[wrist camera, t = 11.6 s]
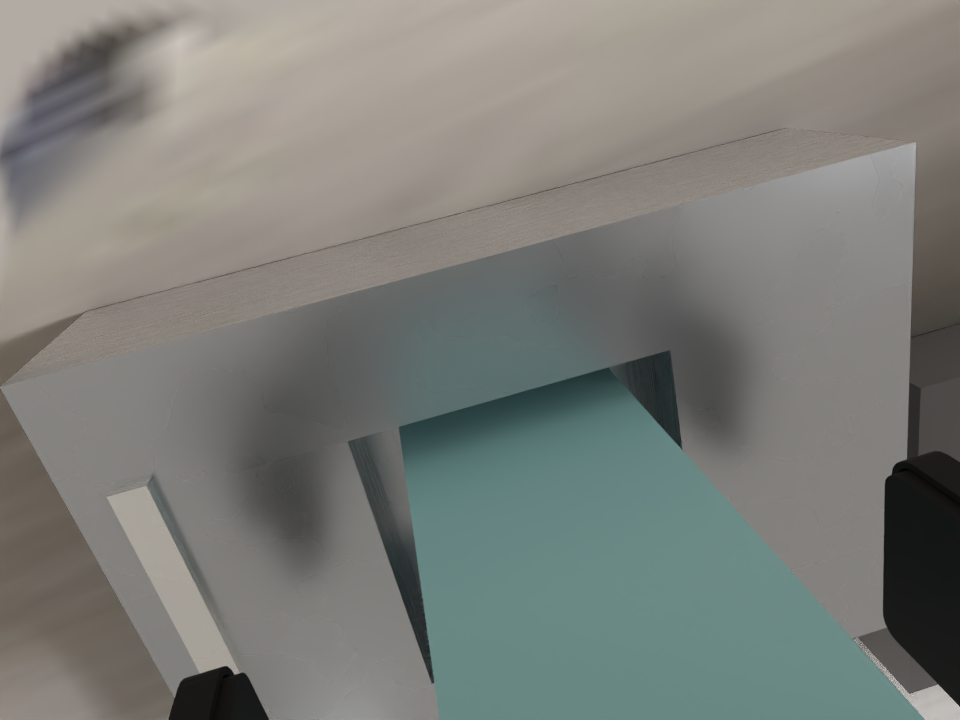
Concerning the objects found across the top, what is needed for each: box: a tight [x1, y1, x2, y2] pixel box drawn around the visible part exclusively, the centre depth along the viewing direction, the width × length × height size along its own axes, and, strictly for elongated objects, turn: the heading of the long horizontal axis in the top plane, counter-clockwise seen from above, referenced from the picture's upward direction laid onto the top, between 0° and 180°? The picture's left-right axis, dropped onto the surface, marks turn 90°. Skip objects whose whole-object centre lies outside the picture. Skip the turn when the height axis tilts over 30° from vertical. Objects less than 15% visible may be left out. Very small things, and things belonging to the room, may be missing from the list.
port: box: [0, 128, 916, 720], centre depth 14 cm, size 14×10×4 cm
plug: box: [399, 368, 925, 720], centre depth 10 cm, size 4×4×10 cm
